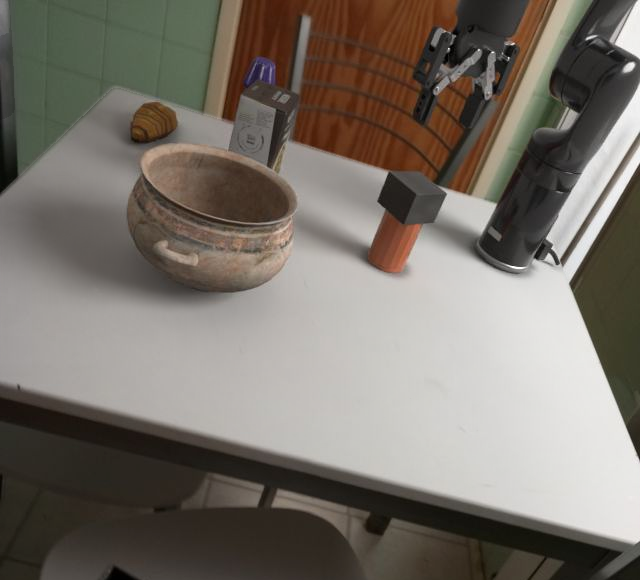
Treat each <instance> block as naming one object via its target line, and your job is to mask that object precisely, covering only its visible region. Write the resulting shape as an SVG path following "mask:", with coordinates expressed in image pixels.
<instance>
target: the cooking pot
mask: <svg viewBox="0 0 640 580" xmlns="http://www.w3.org/2000/svg"><path fill="white" fill-rule="evenodd" d="M139 159H140V160H139V169H140V172H141V173H140V175H139V177H138V178H137V180H136V181H135V183H134V185H133V186H132V189H131V190H130V193H129V195H128V196H129V197H128V199H127V205H126V211H125V212H126V213H125V217H126V222H127V228H128V233H129V234H130V238H131V239H132V241H133V244H134V246H135V247H136V249H137V251H138V252H139V253H140V255H141V256H142V257H143V258H144V260H146V261H147V263H149V265H151V266H152V267H153V268H154V269H155V270H157V271H158V272H159V273H161V274H162V275H163V276H165V277H167V278H168V279H171V280H173V281H174V282H176V283H178V284H181V285H183V286H186V287H188V288H190V289H193V290H196V291H199V292H200V291H201V292H208V293H216V294H217V293H218V294H228V293H229V294H230V293H231V294H232V293H233V294H234V293H240V292H246V291H250V290H253V289H257V288H258V287H261V286H262V285H264V284H266V283H268V282H269V281H271V280H272V279H273V278H274V277H275V276H277V275H278V274H279V273H280V272H281V271H282V270H283V268H284V267H285V265H286V264H287V262H288V260H289V258H290V256H291V253H292V249H293V244H294V222H293V221H294V219H293V216H294V215H295V214H296V212H297V211H298V208H299V204H300V202H299V198H298V194H297V192H296V190H295V189H294V187H292V185H291V184H290V183H289V181H287V180H286V179H285V178H284V177H282V176H281V175H280V173H279V174H277V173H276V172H275V171H273V170H271V169H270V168H268V167H266V166H265V165H263V164H261V163H259V162H257V161H255V160H253V159H251V158H248V157H246V156H243V155H241V154H238V153H235V152H232V151H229V150H228V149H226V148H221V147H217V146H213V145H207V144H203V143H195V142H170V143H169V142H168V143H163V144H159V145H156V146H153V147H151V148H149V149H148V150H146V151H144V152H143V154H142V156H141V157H140V158H139Z"/></svg>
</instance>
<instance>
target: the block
mask: <svg viewBox="0 0 640 580" xmlns="http://www.w3.org/2000/svg"><path fill="white" fill-rule="evenodd" d="M447 196H448V193H447V192H446V191H445V190H443V189H442V188H441V187H440V186H438V185H437V184H436V183H435V182H433V181H432V180H431V179H430V178H429V177H427V176H426V175H425V174H424V173H422V172H421V171H414V170H413V171H407V170H405V171H404V170H403V171H397V170H394V171H393V170H389V171H388V172H387V175H386V177H385V179H384V182H383V185H382V188H381V190H380V193H379V195H378V198H377V200H376V202H377V203H378V204H379V205H380V206H381V207H382V208H384V210H385V209H386V210H387V211H388V212H389V213H390V214H392V215H393V216H394V217H395V218H396V219H397V220H398V221H400V222H401V223H402V224H403V225H412V224H423V225H426V224H427V225H428V224H434V223H435V221H436V219H437V217H438V215H439V213H440V211H441V208H442V206H443V204H444V202H445V199H446V197H447Z"/></svg>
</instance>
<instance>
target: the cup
mask: <svg viewBox="0 0 640 580" xmlns="http://www.w3.org/2000/svg"><path fill="white" fill-rule="evenodd" d="M423 226H424V224H412V225H403V224H402V223H401V222H400V221H398V220H397V219H396V218H395V217H394V216H393V215H392V214H390V213H389V212H388V211H387V210H386V209H385V208H384V212H383V214H382V217H381V219H380V221H379V224H378V226H377V229H376V232H375V233H374V236H373V239H372V241H371V244H370V247H369V249H368V251H367V252H368V253H367V255H366V256H367V260H368V262H370V264H371V265H372V266H373V267H376V268H377V269H378V270H380V271H383V272H386V273H390V274H399V273H401V272H402V271H403V270H404V268H405V266H406V264H407V262H408V259H409V258H410V255H411V254H412V253H411V252H412V250H413V248H414V246H415V244H416V241H417V240H418V237H419V235H420V232H421V230H422V228H423Z"/></svg>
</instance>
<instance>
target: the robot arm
mask: <svg viewBox="0 0 640 580" xmlns="http://www.w3.org/2000/svg"><path fill="white" fill-rule="evenodd" d="M638 1H639V0H591V1H590V3H589V4H588V6H587V8H586V9H585V11H584V13H583V14H582V16H581V18H580V19H579V21H578V23H577V24H576V26H575V27H574V29H573V30H572V32H571V34H570V36H569V38H568V39H567V40H566V43H565V44H564V46H563V48H562V50H561V51H560V52H559V55H558V57H557V58H556V61H555V63H554V65H553V68H552V70H551V73H550V77H549V80H548V81H549V83H548V90H549V94H550V95H551V97H552V98H553V99H554V100H555V101H557V102H559V103H560V104H562V105H563V106H565V107H567V108H568V109H570V110H571V111H573V112H574V113H576V114H578V115H577V117H576V118H575V120H574V122H573V123H572V124H571V126H570V127H568V128H564V129H561V128H555V127H545V126H544V127H539V128H536V130H535V131H533V133H532V135H531V137H530V139H529V141H528V143H527V144H526V147H525V148H524V151H523V152H522V155H520V158H519V159H518V162H517V164H516V166H515V168H514V171H513V172H512V174H511V176H510V178H509V180H508V182H507V184H506V186H505V188H504V190H503V191H502V194H501V196H500V198H499V199H498V201H497V203H496V206H495V208H494V209H493V211H492V214H491V215H490V217H489V219H488V221H487V223H486V225H485V227H484V229H483V230H482V233H481V235H480V236H479V238H478V239H477V240H476V243H475V245H474V247H475V251H476V252H477V254H478V256H480V257H481V258H482V259H483V260H485V261H486V262H487V263H489V264H490V265H492V266H494V267H496V268H497V269H501V270H502V271H505V272H509V273H514V274H522V273H525V272H526V271H527V270H528V269H529V267H530V266H531V265H532V263H533V261H534V259H535V260H536V261H545V259H546V258H547V256H548V255H550V256H551V257H552V260H553V262H554V265H555V266H560V264H561V262H560V259H559V256H558V254H557V253H556V252H555V250H554V249H552V248H553V246H554V244H553V242H551V241H550V240H549V239H547V237H548V235H550V232H551V230H552V229H553V227H554V225H555V223H556V222H557V221H558V218H559V215H560V212H561V211H562V209H563V207H564V206H565V204H566V202H567V201H568V199H569V197H570V195H571V194H572V192H573V190H574V188H575V187H576V185H577V183H578V181H579V180H580V178H581V176H582V175H583V172H584V171H585V169H586V168H587V166H588V164H589V163H590V162H591V160H593V158H594V157H595V156H596V155H597V153H598V152H599V151H600V149H601V148H602V146H603V144H604V143H605V141H606V140H607V139H608V137H609V135H610V134H611V132H612V130H613V129H614V127H616V124H617V123H618V121H619V120H620V118H621V117H622V115H623V113H624V112H625V110H626V109H627V108H628V106H629V104H630V103H631V101H632V99H633V98H634V97H635V94H636V92H637V91H638V88H639V86H640V57H638V56H637V55H636V54H633V53H632V52H631V51H628V50H626V49H625V48H623V47H621V46H619V45H617V44H615V43H613V42H612V41H611V39H612V37H613V36H614V34H615V32H616V30H617V29H618V28H619V25H620V24H621V23H622V21H623V20H624V18H625V17H626V15H627V14H628V12H629V11H631V9H632V7H634V5H635V4H636V3H637V2H638ZM530 3H531V0H458V1H457V4H456V6H455V8H454V9H455V10H454V13H455V15H456V23H455V25H454V27H453V28H452V29H451V30H450V31H447V30H445V29H444V28H442V27H441V26H438V25H437V24H435V25H433V26H432V27H431V28H430V31H429V34H428V36H427V39H426V41H425V44H424V46H423V49H422V51H421V53H420V56H419V58H418V60H417V63H416V65H415V67H414V70H413V73H412V79H413V80H414V81H415V82H417V83H418V84H419V85H420V87H421V89H420V92H419V95H418V97H417V100H416V103H415V106H414V108H413V110H412V118H413V121H415V122H416V123H418V124H419V125H420V126H428V125H429V123H430V120H431V118H432V115H433V113H434V111H435V108H436V105H437V103H438V100H439V98H440V95H439V94H440V93H441V92H442V91H443V90H444V89H445V88H446V87H448V85H449V84H450V83H451V84H452V83H455V82H456V81H457V80H458V79H459V78H460V77H461V78H467V77H470V78H471V88H472V89H471V90H472V92H468V93H469V94H468V96H467V98H466V101H465V103H464V105H463V108H462V110H461V113H460V114H459V117H458V123H459V124H460V125H462V126H463V127H464V128H466V129H472V128H473V127H474V126H475V124H476V122H477V121H478V120H479V117H480V114H481V112H482V110H483V107H484V106H485V104H486V101H488V100H490V99H491V98H492V96H496V97H499V96H501V95H502V94H503V92H504V90H505V87H506V85H507V83H508V80H509V78H510V76H511V73H512V71H513V68H514V66H515V63H516V61H517V59H518V56H519V53H520V51H521V46H520V45H518V44H516V43H515V42H513V41H511V40H510V39H511V38H513V37H514V36H515V35H516V34H517V32H518V30H519V27H520V25H521V23H522V20H523V19H524V16H525V14H526V11H527V9H528V6H529V4H530ZM428 65H429V67H428ZM447 65H448V66H447ZM427 67H428V69H427ZM426 70H427V72H425V71H426ZM497 74H499V78H498V79H497V82H496V81H495V80H496V78H497ZM438 77H440V78H438ZM437 78H438V79H437ZM436 79H437V80H436Z"/></svg>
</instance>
